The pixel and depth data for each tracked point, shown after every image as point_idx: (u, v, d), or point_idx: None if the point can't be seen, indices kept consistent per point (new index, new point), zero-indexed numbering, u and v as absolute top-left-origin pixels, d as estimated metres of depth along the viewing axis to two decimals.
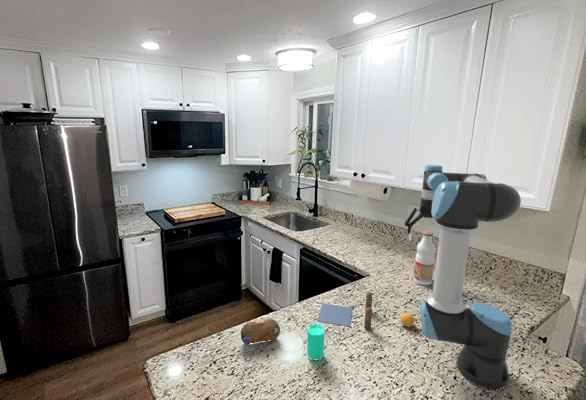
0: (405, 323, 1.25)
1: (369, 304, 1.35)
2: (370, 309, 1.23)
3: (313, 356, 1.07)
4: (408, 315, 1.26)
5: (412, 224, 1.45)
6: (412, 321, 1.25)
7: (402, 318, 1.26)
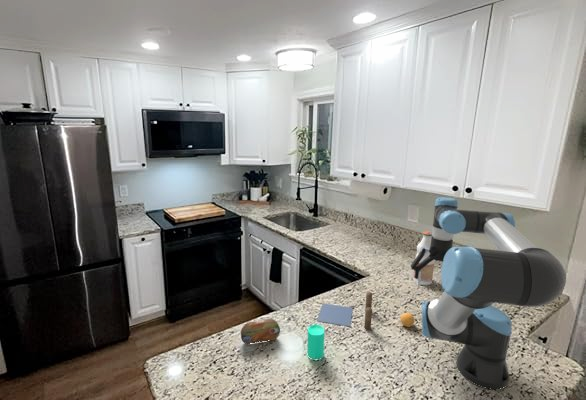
0: (405, 323, 1.25)
1: (369, 304, 1.35)
2: (370, 309, 1.23)
3: (313, 356, 1.07)
4: (408, 315, 1.26)
5: (420, 268, 1.20)
6: (412, 321, 1.25)
7: (402, 318, 1.26)
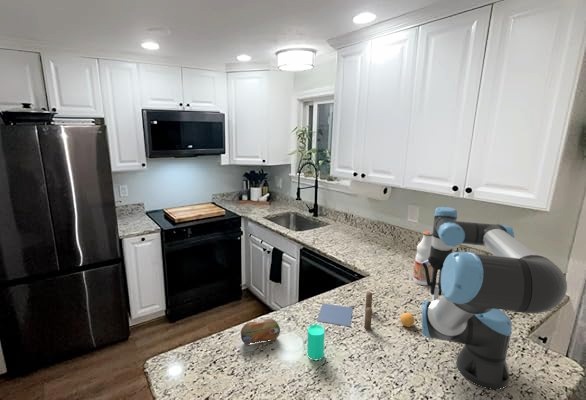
0: (405, 323, 1.25)
1: (369, 304, 1.35)
2: (370, 309, 1.23)
3: (313, 356, 1.07)
4: (408, 315, 1.26)
5: (434, 283, 1.20)
6: (412, 321, 1.25)
7: (402, 318, 1.26)
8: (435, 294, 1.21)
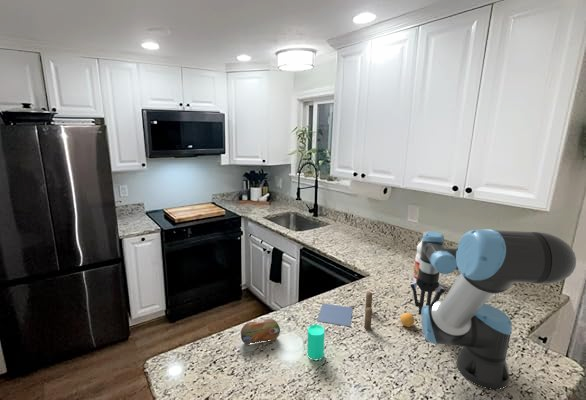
0: (405, 323, 1.25)
1: (369, 304, 1.35)
2: (370, 309, 1.23)
3: (313, 356, 1.07)
4: (408, 315, 1.26)
5: (422, 304, 1.24)
6: (412, 321, 1.25)
7: (402, 318, 1.26)
8: None
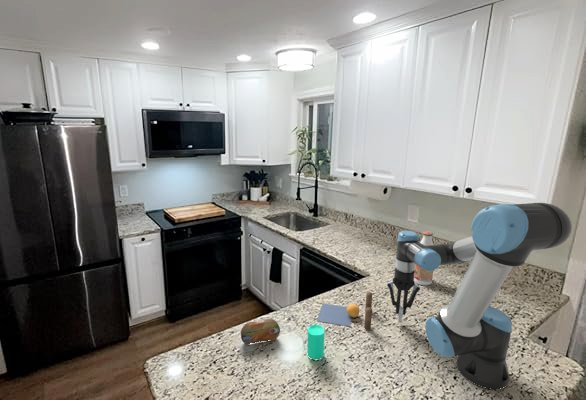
0: (353, 315, 1.31)
1: (369, 304, 1.35)
2: (370, 309, 1.23)
3: (313, 356, 1.07)
4: None
5: (398, 303, 1.25)
6: (350, 309, 1.31)
7: None
8: (400, 313, 1.26)
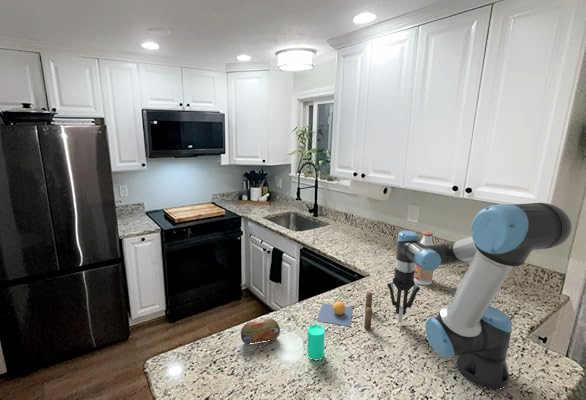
0: (339, 309, 1.32)
1: (369, 304, 1.35)
2: (370, 309, 1.23)
3: (313, 356, 1.07)
4: (342, 313, 1.34)
5: (398, 303, 1.25)
6: None
7: (343, 309, 1.33)
8: (400, 313, 1.26)
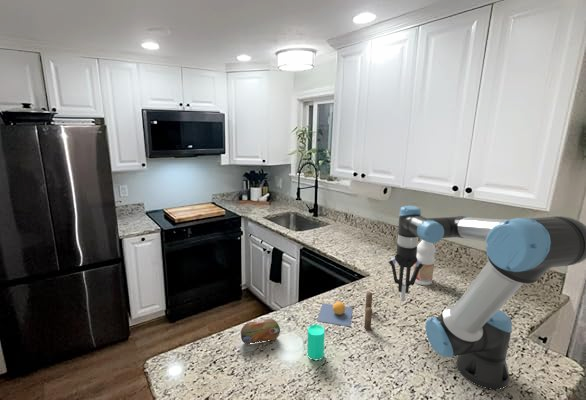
0: (339, 309, 1.32)
1: (369, 304, 1.35)
2: (370, 309, 1.23)
3: (313, 356, 1.07)
4: (342, 313, 1.34)
5: (401, 280, 1.23)
6: None
7: (343, 308, 1.33)
8: (402, 291, 1.23)
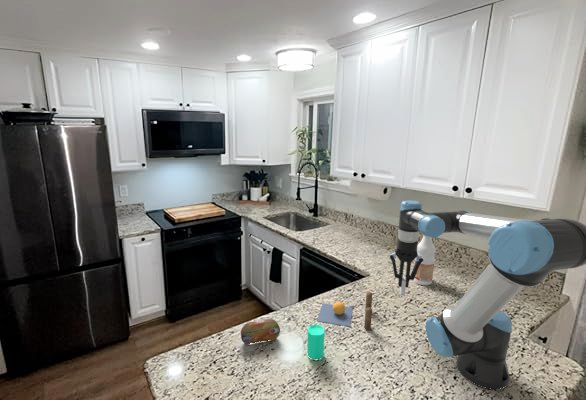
0: (339, 309, 1.32)
1: (369, 304, 1.35)
2: (370, 309, 1.23)
3: (313, 356, 1.07)
4: (342, 313, 1.34)
5: (401, 275, 1.22)
6: None
7: (343, 308, 1.33)
8: (402, 286, 1.23)
